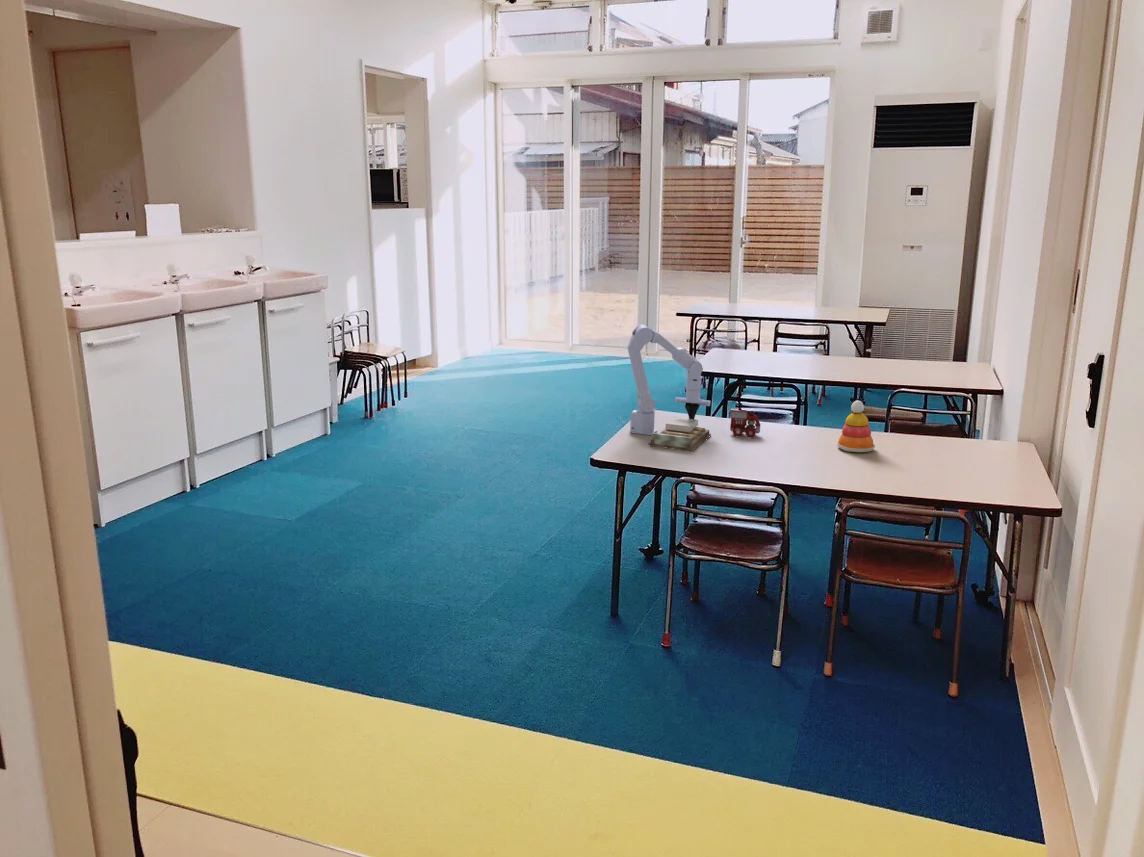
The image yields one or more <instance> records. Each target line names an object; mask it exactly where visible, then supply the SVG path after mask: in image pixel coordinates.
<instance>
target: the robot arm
mask: <svg viewBox="0 0 1144 857" xmlns="http://www.w3.org/2000/svg"><path fill="white" fill-rule="evenodd" d="M649 343H651V344H658V345H659V346H660V347H661V348H663V349H664V350H666V351H667V352H669V354H671V358H672V360H674V361H675V362H676V363H677V364H679V365H680V366H681V367H682V368H684V369H686V371H687V373H686V386H685V397H679V396H676V397H675V398H674V403H675V404H677V403H681V404H685V405H684V407H685V410H686V412H687V415H688V419H696V418H695V417H696V414H697V412H698V409H699V408H700V406H706V407H710V406H711V400H707V399H702V398H701V383H702V378H701V376H702V372H703V371H704V367H703V365H702V363H701V362H700V361H699V360H698V359H697V358H696V356H695V355H691V354H690V353H689V352H687V351H688V350H687V349H686V348H685V347H684V348H682V347H676V346H675V345H674V344H673V343H671V342H670V341H669V340H668V339H666V338H665V337H664V336H663V335H662V334H661V333H660V332H658V331H656V330H654V329H653V328H651V327H649V326H648V325H647V324H644V323H643V324H638V325H636V327H635V328H634V329H633V331H632V333H631V337H630V339H629V342H628V346H627V353H628V356H629V360H630V363H631V364H630V365H631V370H632V373H633V377H634V382H635V385H636V391H637V400H636V403H637V405H638V407H637V408H636V409H634V410H632V412H631V414H630V424H629V426H630V427H629V428H630V430H629V433H631V434H638V435H647V436H652V433H657V432H658V430H657V429H655V415H656V414H655V411H656V410H655V408H656V401H655V400H654V399H653V397H652V395H651V391H650V388H649V383H648V379H647V376H646V371H645V367H644V362H643V359H642V358H643V357H642V354H641V353H642V352H641V351H642V349H643V348H644V347H645V346H646V345H647V344H649Z"/></svg>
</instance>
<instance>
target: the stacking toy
mask: <svg viewBox="0 0 1144 857" xmlns="http://www.w3.org/2000/svg"><path fill="white" fill-rule="evenodd" d="M850 409H851V412H852V413H850V414H849V415H848V416H847V417H846V419H845V421H844V422H845V424H844V426H843V427H842V431H841V434H840V435H839V438H838V441H836V445H837V447H838V448H839V449H841V450H843V451H844V452H847V453H851V452H852V453H869V452H873V450H874V449H875V448H876V444H874V439H873V437H872V430H871V426H869V419H868V416H867V415H865V414H864V413H862V412H864V410H865V406H864V403H863V402H862V401H861V400H857V399H856V400H855V401H853V403H852V404H851V406H850Z"/></svg>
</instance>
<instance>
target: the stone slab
mask: <svg viewBox="0 0 1144 857" xmlns="http://www.w3.org/2000/svg"><path fill="white" fill-rule="evenodd" d="M698 426H699V420H698V419H696V418H694V419H689V418H686V417H677V416H675V417H673V418H671V419H670V420H669V421H667V422H666V423H665V428H664V430H665V429H667V430H675V431H683V432H690V431H692V430H693V429H694V428H695V427H698Z"/></svg>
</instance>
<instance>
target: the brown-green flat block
mask: <svg viewBox="0 0 1144 857" xmlns="http://www.w3.org/2000/svg"><path fill="white" fill-rule="evenodd" d="M650 436H651V437H650V438H651V439H650V442H648V446H649V445H650V446H649V447H655V446H660V447H659V448H663V447H667V448H666V449H670V448H674V449H673V450H678V449H680V451H686V450H689V452H694V451H695V450H696V449H698V448H699V447H700V446H701V445H702V444H704V443H705V442H704V441H705V440H706V439H707V438H708V437H709V436H710V437H712V434H711V433H710V429H706V427H700V426H699V427H698V426H697V427H695V428H694V429H693V430H692V431H690V432H683V431H675V430H667V429H665V428H664V429H663V430H661V432H655V433H652V435H650ZM710 437H709V438H710ZM709 438H708V439H709ZM708 439H707V440H708ZM707 440H706V441H707ZM701 443H702V444H701ZM700 444H701V445H700ZM699 445H700V446H699ZM698 446H699V447H698ZM697 447H698V448H697ZM693 450H694V451H693Z"/></svg>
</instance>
